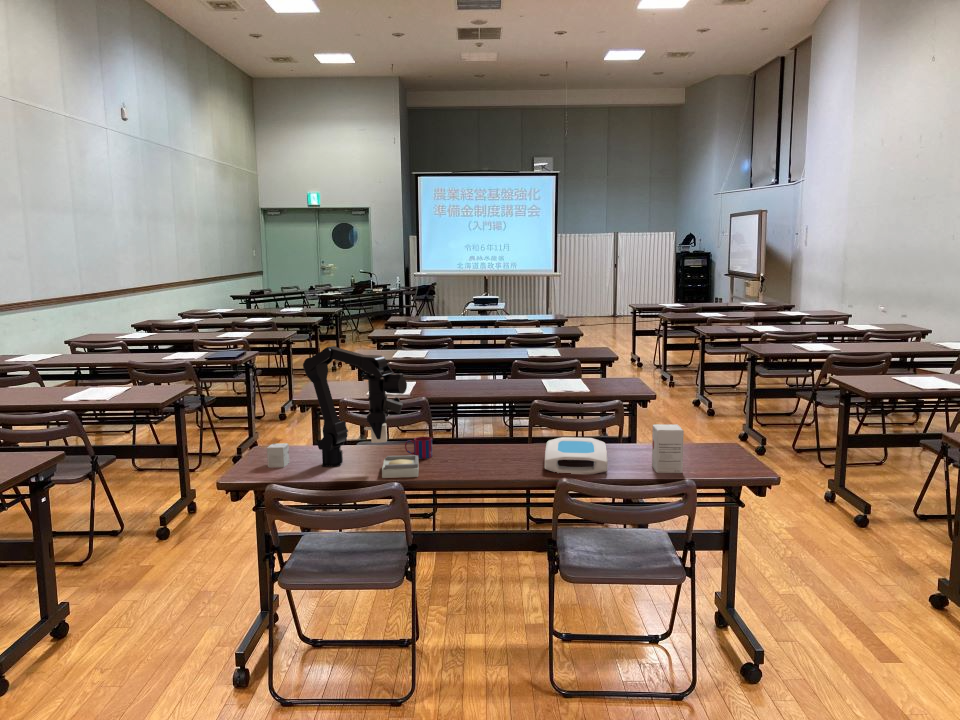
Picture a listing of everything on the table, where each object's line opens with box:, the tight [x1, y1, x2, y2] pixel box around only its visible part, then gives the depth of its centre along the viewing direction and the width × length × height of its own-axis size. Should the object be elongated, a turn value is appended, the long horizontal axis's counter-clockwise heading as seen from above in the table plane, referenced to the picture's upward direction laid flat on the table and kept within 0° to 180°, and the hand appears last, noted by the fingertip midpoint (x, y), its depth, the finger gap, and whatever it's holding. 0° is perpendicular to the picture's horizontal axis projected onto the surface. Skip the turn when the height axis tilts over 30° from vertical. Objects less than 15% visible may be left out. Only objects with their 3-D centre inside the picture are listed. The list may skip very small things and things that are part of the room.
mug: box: [404, 436, 433, 460], centre depth 261 cm, size 7×10×7 cm
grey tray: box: [381, 454, 420, 479], centre depth 242 cm, size 12×14×4 cm
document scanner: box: [544, 436, 608, 475], centre depth 250 cm, size 21×28×6 cm
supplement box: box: [651, 423, 685, 474], centre depth 240 cm, size 9×9×15 cm
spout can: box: [363, 422, 388, 444], centre depth 242 cm, size 8×5×6 cm, turn 94°
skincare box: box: [266, 442, 290, 469], centre depth 251 cm, size 6×6×7 cm
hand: (379, 437), depth 242 cm, fingers closed on spout can, 5 cm apart
